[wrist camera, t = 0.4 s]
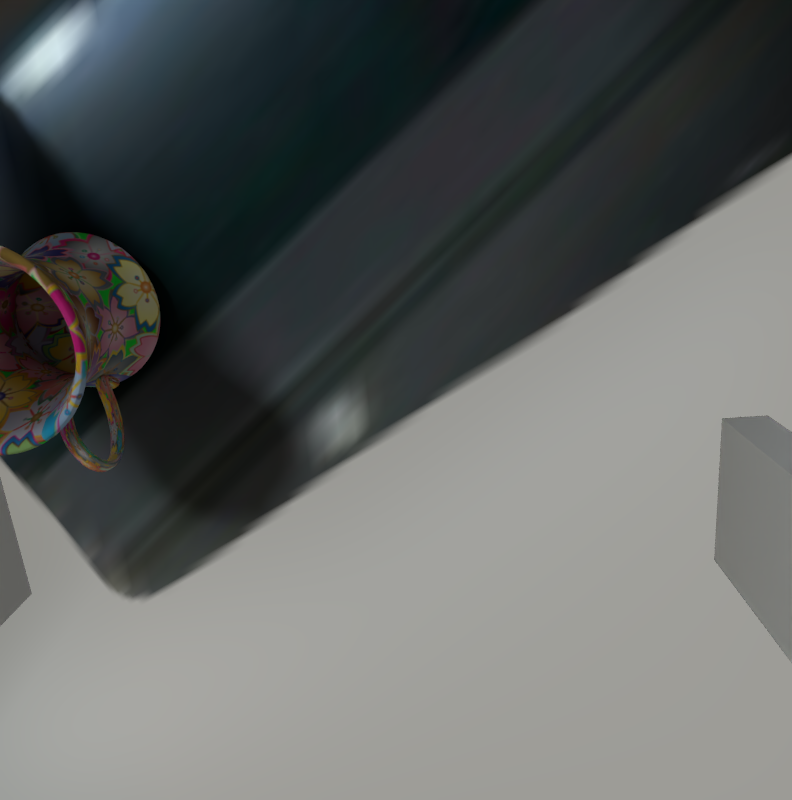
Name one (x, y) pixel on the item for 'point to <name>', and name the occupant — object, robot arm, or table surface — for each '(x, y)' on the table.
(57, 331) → the mug
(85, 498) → the table surface
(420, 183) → the table surface
